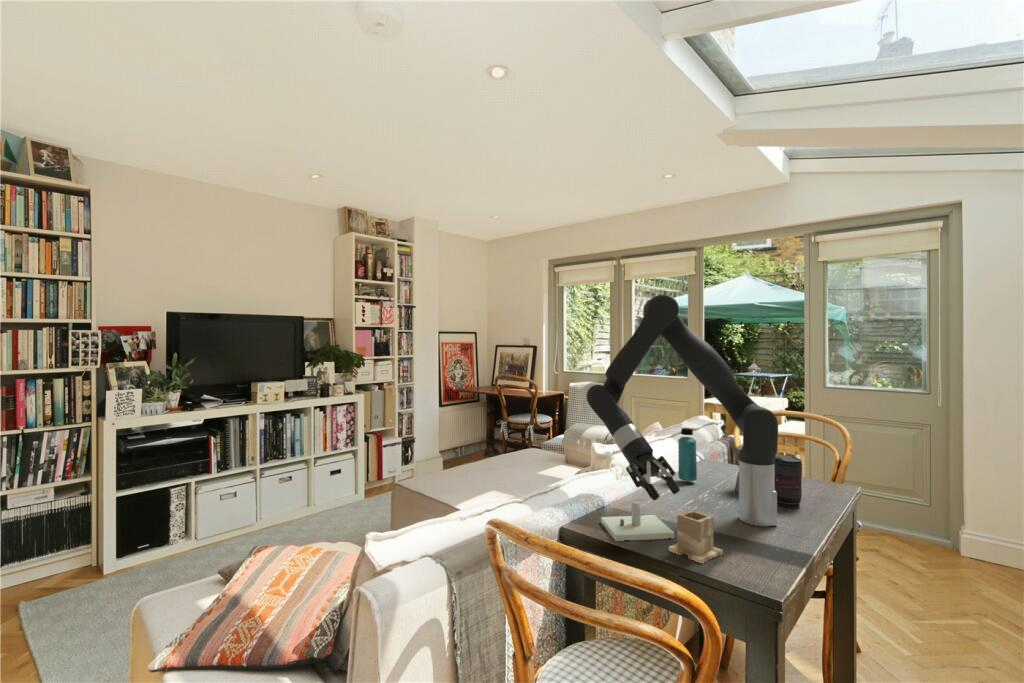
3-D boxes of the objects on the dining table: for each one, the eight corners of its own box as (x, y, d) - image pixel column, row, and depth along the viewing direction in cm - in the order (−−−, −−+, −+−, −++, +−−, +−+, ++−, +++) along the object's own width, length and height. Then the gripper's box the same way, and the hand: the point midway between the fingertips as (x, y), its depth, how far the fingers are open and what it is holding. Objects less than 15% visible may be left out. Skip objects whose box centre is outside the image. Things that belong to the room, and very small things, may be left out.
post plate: (654, 520, 139) (654, 494, 139) (674, 538, 126) (674, 509, 126) (600, 522, 138) (600, 496, 138) (615, 541, 125) (615, 512, 125)
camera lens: (786, 510, 147) (786, 461, 147) (767, 501, 155) (767, 455, 155) (808, 508, 149) (808, 460, 149) (788, 500, 157) (788, 454, 157)
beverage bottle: (698, 485, 172) (698, 430, 172) (679, 484, 174) (679, 429, 174) (695, 480, 179) (695, 427, 179) (676, 479, 180) (676, 426, 180)
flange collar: (689, 541, 124) (689, 507, 124) (722, 554, 117) (722, 517, 117) (668, 550, 119) (668, 514, 119) (701, 564, 112) (701, 525, 112)
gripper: (622, 439, 128) (658, 493, 118) (656, 433, 136) (692, 483, 127) (607, 455, 132) (641, 508, 123) (641, 448, 140) (675, 497, 131)
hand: (667, 495), depth 125 cm, fingers open, 8 cm apart
